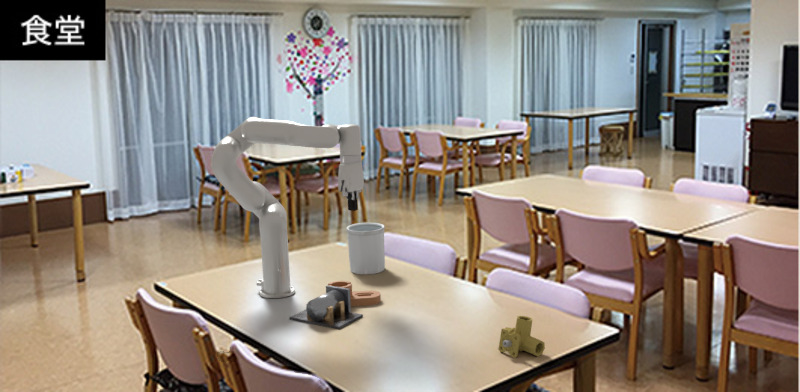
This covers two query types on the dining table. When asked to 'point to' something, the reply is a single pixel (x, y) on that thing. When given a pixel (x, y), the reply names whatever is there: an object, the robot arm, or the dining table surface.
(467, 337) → the dining table surface
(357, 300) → the bracket
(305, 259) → the dining table surface
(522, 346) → the ball valve
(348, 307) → the pipe stub
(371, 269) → the utensil holder
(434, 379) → the dining table surface
